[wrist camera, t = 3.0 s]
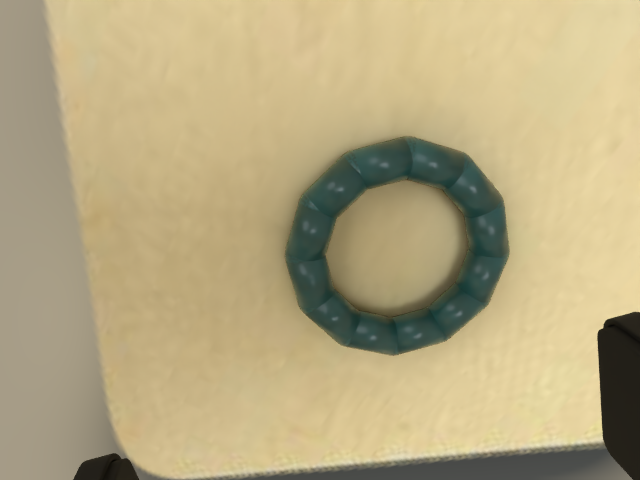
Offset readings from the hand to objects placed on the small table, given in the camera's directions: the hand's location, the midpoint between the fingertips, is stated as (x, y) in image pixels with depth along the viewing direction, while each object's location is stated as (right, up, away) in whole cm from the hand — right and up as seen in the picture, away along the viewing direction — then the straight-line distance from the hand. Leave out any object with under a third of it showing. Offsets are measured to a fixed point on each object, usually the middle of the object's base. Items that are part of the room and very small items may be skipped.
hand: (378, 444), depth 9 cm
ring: (+2, +4, +8) cm, 9 cm away
